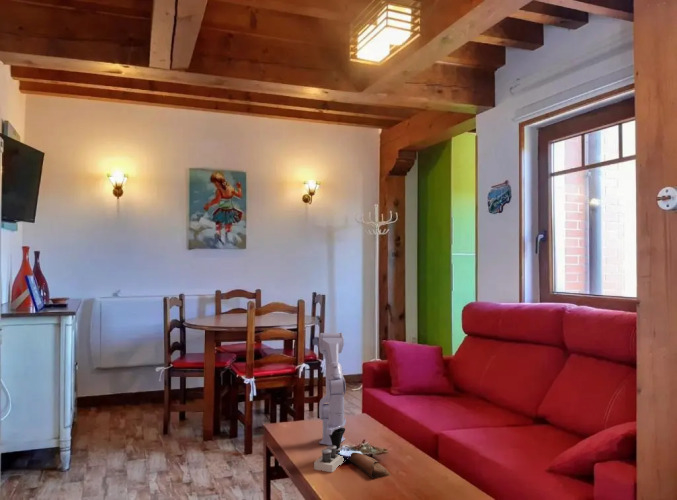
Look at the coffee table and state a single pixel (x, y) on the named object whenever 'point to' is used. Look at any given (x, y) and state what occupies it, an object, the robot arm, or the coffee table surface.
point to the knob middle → (333, 448)
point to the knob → (326, 455)
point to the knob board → (328, 464)
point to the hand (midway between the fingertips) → (336, 448)
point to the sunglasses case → (369, 465)
